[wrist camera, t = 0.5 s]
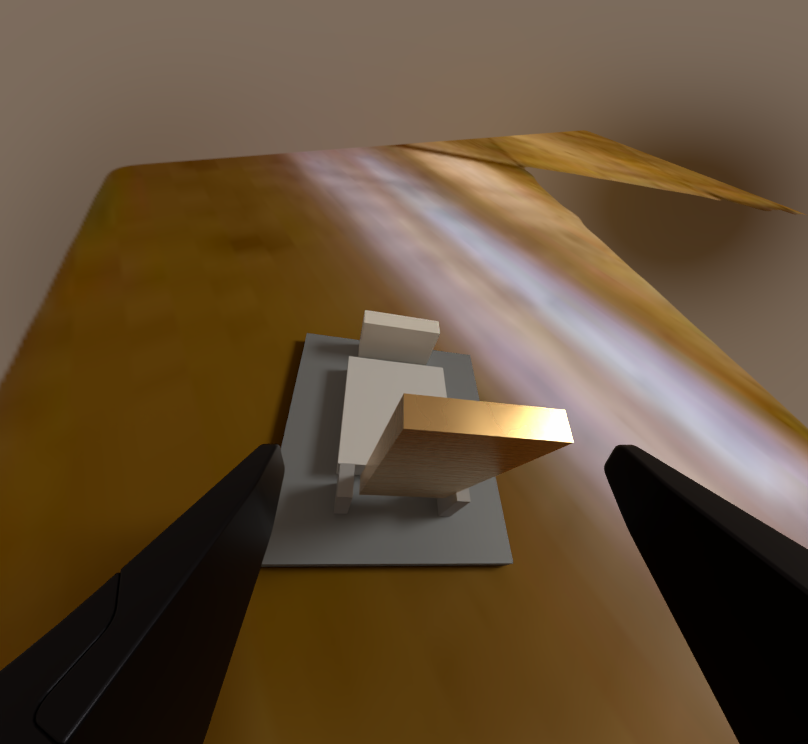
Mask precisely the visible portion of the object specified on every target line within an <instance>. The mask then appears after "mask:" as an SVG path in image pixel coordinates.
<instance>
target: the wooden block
mask: <svg viewBox="0 0 808 744" xmlns="http://www.w3.org/2000/svg"><path fill="white" fill-rule="evenodd" d="M571 443H574V442H573V438H572V434H571V431H570V427H569V423H568V420H567V416H566V412H565V410H559V409H549V408H540V407H530V406H521V405H511V404H502V403H492V402H483V401H473V400H464V399H454V398H444V397H435V396H425V395H416V394H406V393H404V394H403V396H402V398H401V399H400V401H399V403H398V405H397V407H396V409H395V411H394V413H393V415H392V417H391V418H390V420H389V422H388V424H387V426H386V428H385V430H384V432H383V434H382V436H381V437H380V439H379V441H378V443H377V445H376V447H375V449H374V451H373V453H372V455H371V456H370V458H369V460H368V462H367V464H366V466H365V468H364V470H363V472H362V474H361V475H360V487H359V495H381V496H407V497H433V498H446V497H448V496H450V495H453V494H455V493H457V492H460V491H462V490H464V489H467V488H469V487H471V486H474V485H476V484H478V483H481V482H483V481H485V480H488V479H490V478H492V477H495V476H497V475H499V474H502V473H504V472H506V471H509V470H511V469H513V468H516V467H518V466H520V465H523V464H525V463H527V462H530V461H532V460H534V459H537V458H539V457H541V456H544V455H546V454H548V453H551V452H553V451H555V450H557V449H560V448H562V447H564V446H567V445H569V444H571Z"/></svg>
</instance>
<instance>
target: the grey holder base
mask: <svg viewBox="0 0 808 744" xmlns="http://www.w3.org/2000/svg"><path fill="white" fill-rule="evenodd" d="M439 335H440V329H439V322H438V321H433V320H426V319H420V318H413V317H407V316H400V315H394V314H387V313H381V312H374V311H368V310H365V313H364V319H363V325H362V331H361V337H360V340H354V339H346V338H339V337H331V336H324V335H317V334H309V333H307V336H306V340H305V345H304V349H303V353H302V358H301V362H300V367H299V371H298V375H297V380H296V384H295V389H294V393H293V397H292V402H291V406H290V411H289V415H288V419H287V424H286V428H285V433H284V437H283V442H282V446H281V453H282V457H283V461H284V465H285V472H284V478H283V483H282V487H281V492H280V497H279V502H278V506H277V511H276V516H275V521H274V525H273V529H272V533H271V537H270V540H269V543H268V546H267V549H266V553H265V556H264V559H263V562H262V565H261V567H291V566H470V565H509V564H512V563H513V559H512V555H511V550H510V545H509V540H508V535H507V531H506V526H505V521H504V516H503V511H502V507H501V502H500V497H499V492H498V487H497V483H496V478H495V477H492V478H490V479H488V480H485V481H483V482H481V483H478V484H476V485H474V486H471V487H469V488H467V489H464V490H462V491H460V492H457V493H455V494H453V495H450V496H448V497H446V498H433V497H407V496H381V495H359V487H360V475H361V474H362V472H363V470H364V468H365V466H366V464H367V462H368V460H369V458H370V456H371V455H372V453H373V451H374V449H375V447H376V445H377V443H378V441H379V439H380V437H381V436H382V434H383V432H384V430H385V428H386V426H387V424H388V422H389V420H390V418H391V417H392V415H393V413H394V411H395V409H396V407H397V405H398V403H399V401H400V399H401V398H402V396H403V394H404V393H406V394H416V395H425V396H435V397H444V398H454V399H464V400H473V401H479V396H478V391H477V387H476V382H475V377H474V372H473V367H472V363H471V358H470V355H465V354H457V353H450V352H443V351H435V350H433V348H434V346H435V344H436V342H437V340H438V337H439Z"/></svg>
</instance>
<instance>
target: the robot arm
mask: <svg viewBox="0 0 808 744" xmlns="http://www.w3.org/2000/svg"><path fill="white" fill-rule="evenodd" d="M604 471H605V475H606V477H607V480H608V482H609V484H610V487H611V489H612V492H613V494H614V497H615V499H616V502H617V504H618V507H619V509H620V511H621V514H622V516H623V519H624V521H625V523H626V526H627V528H628V530H629V532H630V534H631V536H632V538H633V540H634V542H635V544H636V546H637V548H638V550H639V552H640V553H641V555H642V557H643V559H644V561H645V563H646V565H647V567H648V569H649V571H650V573H651V575H652V577H653V578H654V580H655V582H656V584H657V586H658V588H659V590H660V592H661V594H662V596H663V598H664V600H665V601H666V603H667V605H668V607H669V609H670V611H671V613H672V615H673V617H674V619H675V621H676V623H677V625H678V626H679V628H680V630H681V632H682V634H683V636H684V638H685V640H686V642H687V644H688V646H689V648H690V650H691V651H692V653H693V655H694V657H695V659H696V661H697V663H698V665H699V667H700V669H701V671H702V673H703V675H704V676H705V678H706V680H707V682H708V684H709V686H710V688H711V690H712V692H713V694H714V696H715V698H716V700H717V701H718V703H719V705H720V707H721V709H722V711H723V713H724V715H725V717H726V719H727V721H728V723H729V725H730V726H731V728H732V730H733V732H734V734H735V736H736V738H737V740H738V742H739V744H808V549H806V548H805V547H803V546H801V545H800V544H798V543H796V542H795V541H793V540H791V539H790V538H788V537H786V536H785V535H783V534H781V533H780V532H778V531H776V530H775V529H773V528H771V527H770V526H768V525H766V524H765V523H763V522H761V521H760V520H758V519H756V518H755V517H753V516H751V515H750V514H748V513H746V512H745V511H743V510H741V509H740V508H738V507H736V506H735V505H733V504H731V503H730V502H728V501H726V500H725V499H723V498H721V497H720V496H718V495H717V494H715V493H713V492H712V491H710V490H708V489H707V488H705V487H703V486H702V485H700V484H698V483H697V482H695V481H693V480H692V479H690V478H688V477H687V476H685V475H683V474H682V473H680V472H678V471H677V470H675V469H673V468H672V467H670V466H668V465H667V464H665V463H663V462H662V461H660V460H658V459H657V458H655V457H653V456H652V455H650V454H648V453H647V452H645V451H643V450H642V449H640V448H638V447H637V446H634V445H618V446H616V447H615V448H614V450H613V451H612V453H611V455H610V456H609V458H608V460H607V461H606V463H605V466H604ZM284 472H285V465H284V461H283V457H282V453H281V449H280V446H279V445H278V444H262V445H260V446H259V447H258V448H257V449H255V450H254V451H253V452H252V453H251V454H250V455H249V456H248V457H246V458H245V459H244V460H243V461H242V462H241V463H240V464H239V465H237V466H236V467H235V468H234V469H233V470H232V471H231V472H230V473H228V474H227V475H226V476H225V477H224V478H223V479H222V480H221V481H220V482H218V483H217V484H216V485H215V486H214V487H213V488H212V489H211V490H209V491H208V492H207V493H206V494H205V495H204V496H203V497H202V498H200V499H199V500H198V501H197V502H196V503H195V504H194V505H193V506H191V507H190V508H189V509H188V510H187V511H186V512H185V513H184V514H182V515H181V516H180V517H179V518H178V519H177V520H176V521H175V522H174V523H172V524H171V525H170V526H169V527H168V528H167V529H166V530H165V531H163V532H162V533H161V534H160V535H159V536H158V537H157V538H156V539H154V540H153V541H152V542H151V543H150V544H149V545H148V546H147V547H145V548H144V549H143V550H142V551H141V552H140V553H139V554H138V555H136V556H135V557H134V558H133V559H132V560H131V561H130V562H129V563H128V564H126V565H125V566H124V567H123V568H122V569H121V572H120V573H116V574H115V575H114V576H113V577H112V578H110V579H109V580H108V581H107V582H106V583H105V584H104V585H103V586H102V587H100V588H99V589H98V590H97V591H96V592H95V593H94V594H92V595H91V596H90V597H89V598H88V599H87V600H85V601H84V602H83V603H82V604H81V605H80V606H79V607H77V608H76V609H75V610H74V611H73V612H72V613H70V614H69V615H68V616H67V617H66V618H65V619H64V620H62V621H61V622H60V623H59V624H58V625H56V626H55V627H54V628H53V629H51V630H50V631H49V632H48V633H47V634H45V635H44V636H43V637H42V638H40V639H39V640H38V641H37V642H36V643H34V644H33V645H32V646H31V647H29V648H28V649H27V650H26V651H25V652H23V653H22V654H21V655H20V656H18V657H17V658H16V659H15V660H13V661H12V662H11V663H10V664H8V665H7V666H6V667H5V668H3V669H2V670H1V671H0V744H203V742H204V739H205V736H206V733H207V730H208V727H209V724H210V721H211V717H212V714H213V711H214V708H215V705H216V702H217V699H218V696H219V693H220V690H221V687H222V684H223V681H224V678H225V675H226V672H227V669H228V666H229V662H230V659H231V656H232V653H233V650H234V647H235V644H236V641H237V638H238V635H239V632H240V629H241V626H242V623H243V620H244V617H245V614H246V611H247V608H248V604H249V601H250V598H251V595H252V592H253V589H254V586H255V583H256V580H257V577H258V574H259V571H260V568H261V565H262V562H263V559H264V556H265V553H266V549H267V546H268V543H269V540H270V537H271V533H272V529H273V525H274V521H275V516H276V511H277V506H278V502H279V497H280V492H281V487H282V483H283V478H284Z"/></svg>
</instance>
